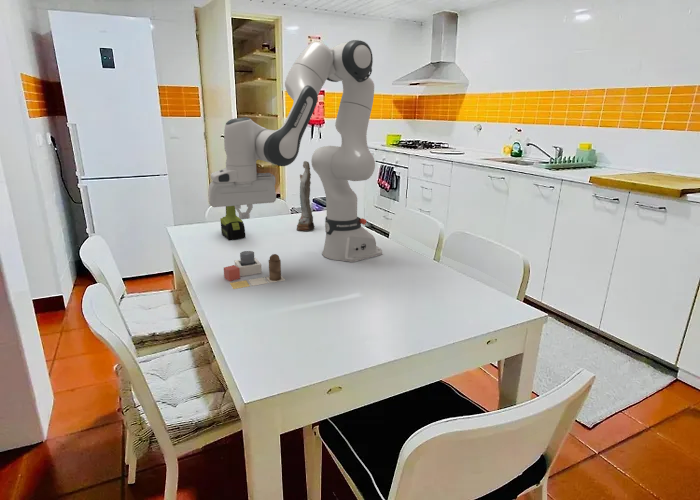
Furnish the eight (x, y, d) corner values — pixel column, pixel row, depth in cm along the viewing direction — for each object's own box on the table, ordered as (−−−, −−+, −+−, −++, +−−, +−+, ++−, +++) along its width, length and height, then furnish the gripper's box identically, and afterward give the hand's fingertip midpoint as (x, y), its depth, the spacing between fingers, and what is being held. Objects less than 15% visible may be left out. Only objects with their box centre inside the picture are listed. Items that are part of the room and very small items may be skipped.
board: (270, 264, 146) (270, 261, 146) (289, 286, 129) (289, 282, 129) (220, 272, 139) (220, 269, 138) (233, 296, 122) (233, 292, 122)
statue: (300, 226, 193) (298, 159, 183) (316, 227, 192) (315, 160, 182) (295, 231, 186) (293, 162, 176) (311, 232, 185) (310, 162, 175)
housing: (256, 266, 142) (255, 257, 141) (261, 273, 136) (261, 264, 135) (235, 269, 139) (234, 260, 138) (239, 276, 133) (239, 267, 132)
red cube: (234, 275, 134) (233, 265, 133) (240, 278, 132) (239, 268, 130) (224, 278, 132) (223, 267, 131) (229, 281, 129) (228, 270, 128)
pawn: (279, 275, 134) (278, 251, 131) (282, 279, 131) (281, 255, 128) (268, 277, 133) (267, 253, 130) (271, 281, 129) (270, 256, 127)
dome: (252, 261, 140) (252, 250, 138) (256, 265, 136) (255, 254, 135) (239, 263, 138) (238, 251, 137) (242, 268, 134) (241, 256, 133)
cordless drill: (255, 245, 167) (251, 181, 158) (237, 247, 163) (232, 183, 155) (236, 230, 185) (231, 173, 177) (219, 233, 181) (214, 174, 173)
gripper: (272, 171, 135) (273, 213, 139) (205, 174, 126) (209, 219, 130) (278, 173, 129) (279, 217, 134) (208, 177, 121) (212, 224, 125)
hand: (244, 218), depth 132 cm, fingers closed
